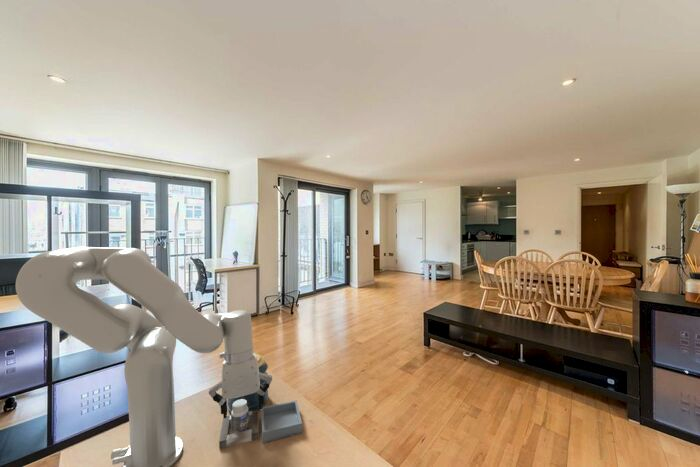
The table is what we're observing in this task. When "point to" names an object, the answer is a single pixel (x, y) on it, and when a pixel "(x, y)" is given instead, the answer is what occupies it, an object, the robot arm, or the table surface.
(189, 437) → the table surface
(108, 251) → the robot arm
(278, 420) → the tray
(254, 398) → the canister
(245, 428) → the pill bottle
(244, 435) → the socket block
